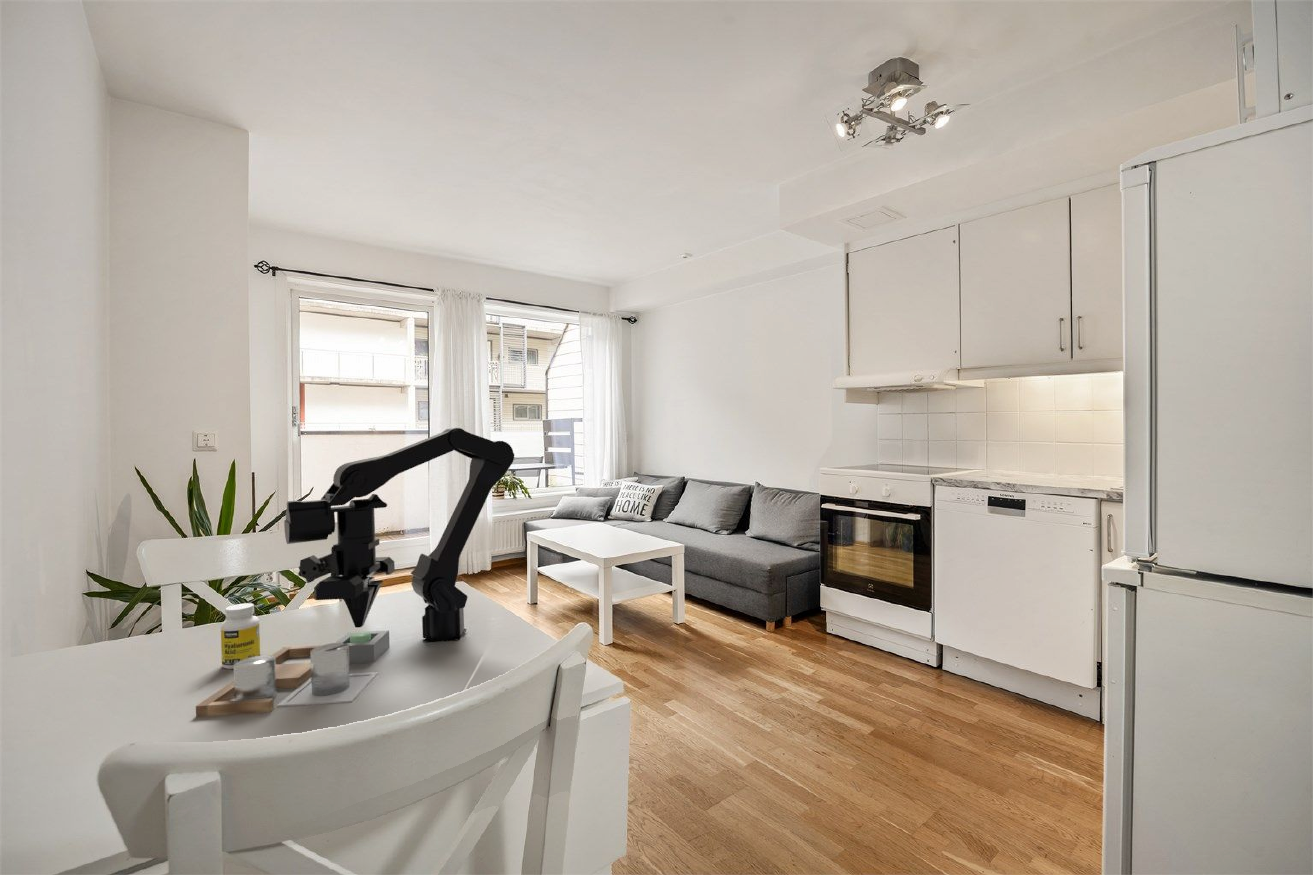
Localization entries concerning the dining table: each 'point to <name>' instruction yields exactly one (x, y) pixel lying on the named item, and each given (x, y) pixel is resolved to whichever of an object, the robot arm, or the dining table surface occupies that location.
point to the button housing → (367, 647)
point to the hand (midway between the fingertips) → (359, 626)
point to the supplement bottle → (239, 635)
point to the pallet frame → (284, 679)
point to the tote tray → (307, 698)
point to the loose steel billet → (330, 669)
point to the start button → (360, 637)
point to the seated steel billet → (255, 678)
